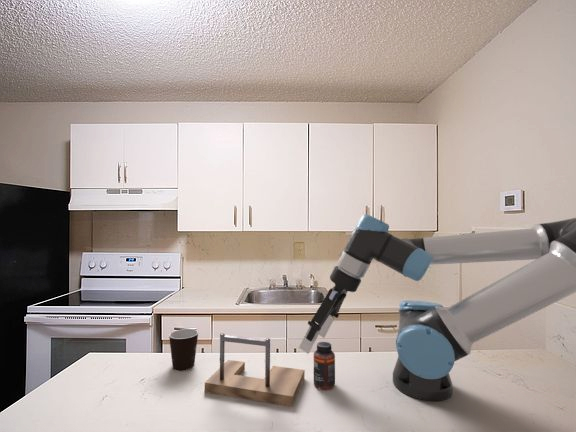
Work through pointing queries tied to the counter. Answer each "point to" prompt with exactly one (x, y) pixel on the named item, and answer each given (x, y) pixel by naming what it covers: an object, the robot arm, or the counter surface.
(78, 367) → the counter surface
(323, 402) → the counter surface
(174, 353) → the coffee mug
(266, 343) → the grey metal arch frame
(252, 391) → the notched wooden board
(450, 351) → the robot arm
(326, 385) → the supplement bottle
